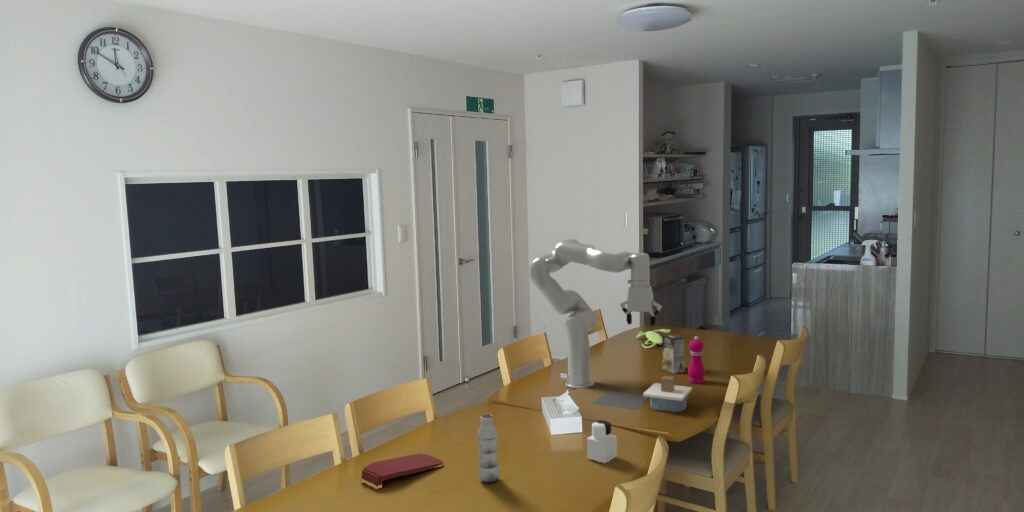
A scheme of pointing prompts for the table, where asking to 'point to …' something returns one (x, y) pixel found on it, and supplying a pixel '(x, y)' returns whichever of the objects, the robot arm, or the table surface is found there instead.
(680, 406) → the bowl
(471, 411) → the table surface
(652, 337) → the figurine
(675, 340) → the coffee box
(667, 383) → the cover
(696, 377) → the pepper mill
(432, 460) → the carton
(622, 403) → the mat
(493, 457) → the plastic bottle
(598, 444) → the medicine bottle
